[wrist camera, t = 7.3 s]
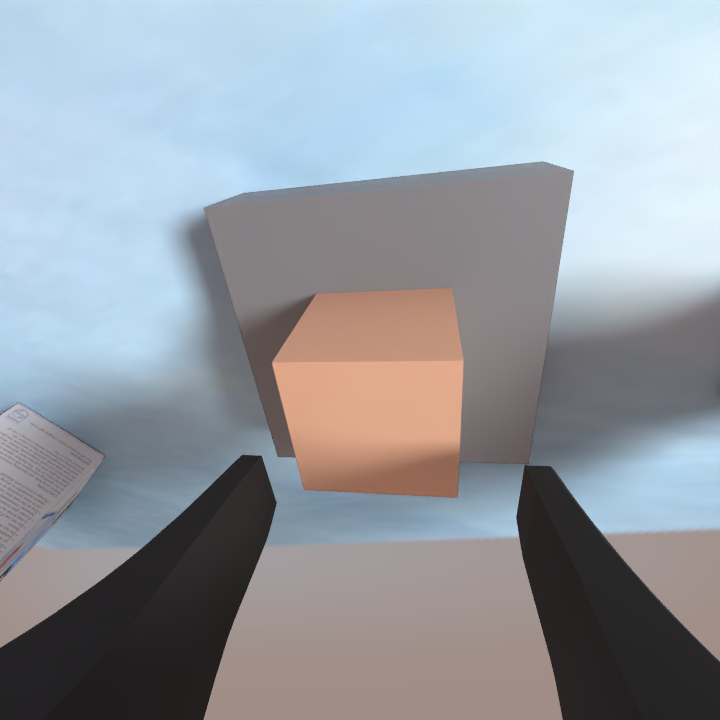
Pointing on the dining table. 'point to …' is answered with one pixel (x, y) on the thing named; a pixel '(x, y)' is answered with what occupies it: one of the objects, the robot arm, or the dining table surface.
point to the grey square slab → (410, 277)
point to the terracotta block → (375, 392)
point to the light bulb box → (36, 479)
